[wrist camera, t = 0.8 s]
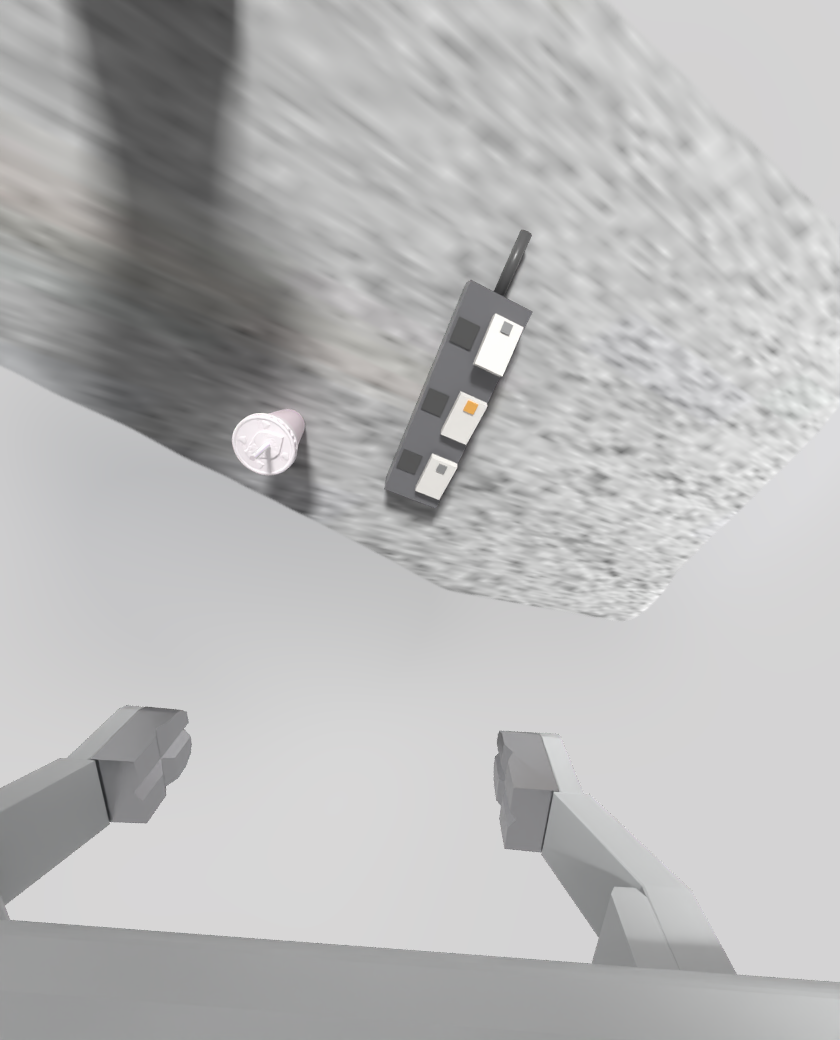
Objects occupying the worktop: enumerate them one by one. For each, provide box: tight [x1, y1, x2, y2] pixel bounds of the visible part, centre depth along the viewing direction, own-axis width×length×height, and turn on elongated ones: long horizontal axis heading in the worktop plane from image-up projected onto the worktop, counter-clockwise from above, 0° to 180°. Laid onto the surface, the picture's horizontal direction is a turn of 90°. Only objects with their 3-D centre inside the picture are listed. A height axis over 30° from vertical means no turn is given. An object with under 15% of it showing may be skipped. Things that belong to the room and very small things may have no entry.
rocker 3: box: [473, 313, 524, 377], centre depth 39 cm, size 5×3×1 cm, turn 157°
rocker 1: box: [415, 453, 457, 500], centre depth 46 cm, size 5×3×1 cm, turn 156°
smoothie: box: [232, 409, 305, 475], centre depth 42 cm, size 6×6×14 cm
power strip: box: [384, 230, 532, 508], centre depth 44 cm, size 30×7×4 cm, turn 157°
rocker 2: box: [441, 391, 488, 445], centre depth 43 cm, size 5×3×1 cm, turn 156°
